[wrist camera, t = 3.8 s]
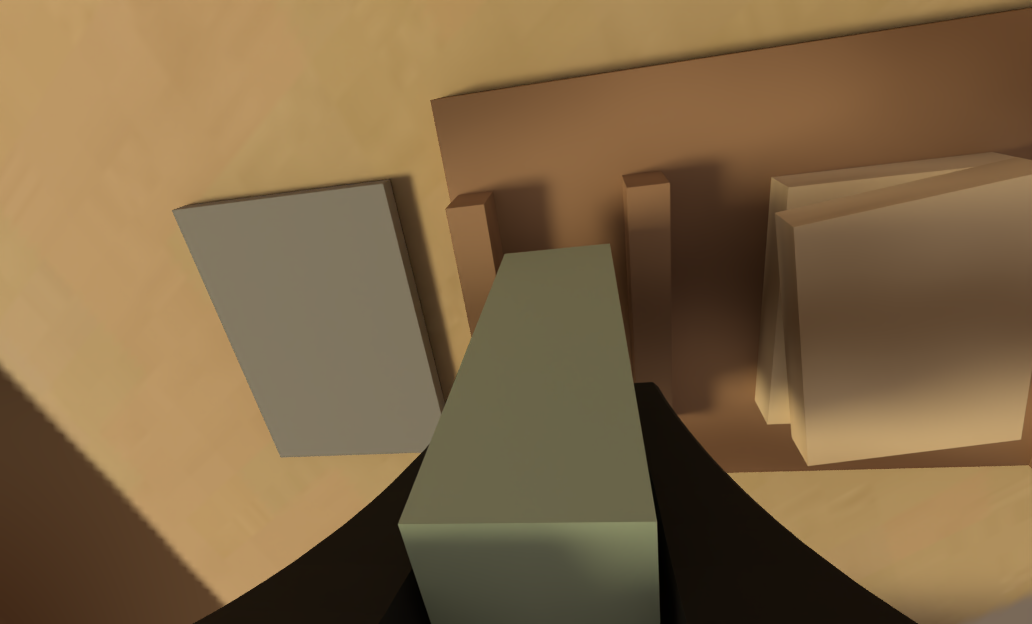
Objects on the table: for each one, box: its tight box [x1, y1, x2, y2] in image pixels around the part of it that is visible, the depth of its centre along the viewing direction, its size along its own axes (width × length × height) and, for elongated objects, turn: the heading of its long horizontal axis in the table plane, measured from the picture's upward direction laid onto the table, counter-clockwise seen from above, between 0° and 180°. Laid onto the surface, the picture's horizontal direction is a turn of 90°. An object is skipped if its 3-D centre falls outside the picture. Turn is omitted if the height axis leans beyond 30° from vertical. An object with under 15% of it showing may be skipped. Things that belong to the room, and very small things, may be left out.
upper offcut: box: [775, 157, 1032, 466], centre depth 12 cm, size 7×5×1 cm
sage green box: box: [398, 243, 660, 624], centre depth 10 cm, size 6×2×8 cm, turn 8°
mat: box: [172, 179, 445, 457], centre depth 18 cm, size 10×7×1 cm
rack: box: [430, 7, 1032, 473], centre depth 14 cm, size 13×18×2 cm
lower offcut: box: [755, 152, 1016, 424], centre depth 13 cm, size 7×5×1 cm
